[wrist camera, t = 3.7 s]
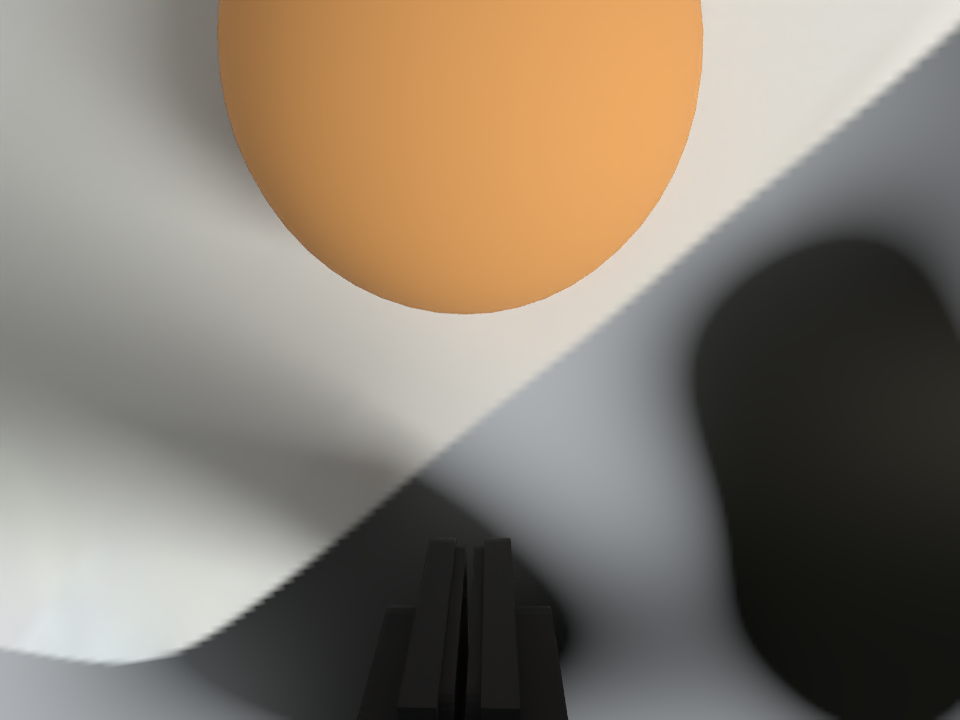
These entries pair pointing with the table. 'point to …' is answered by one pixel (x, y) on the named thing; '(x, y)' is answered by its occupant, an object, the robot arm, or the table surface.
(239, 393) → the table surface
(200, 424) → the table surface
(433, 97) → the ball
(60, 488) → the table surface
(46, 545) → the table surface
